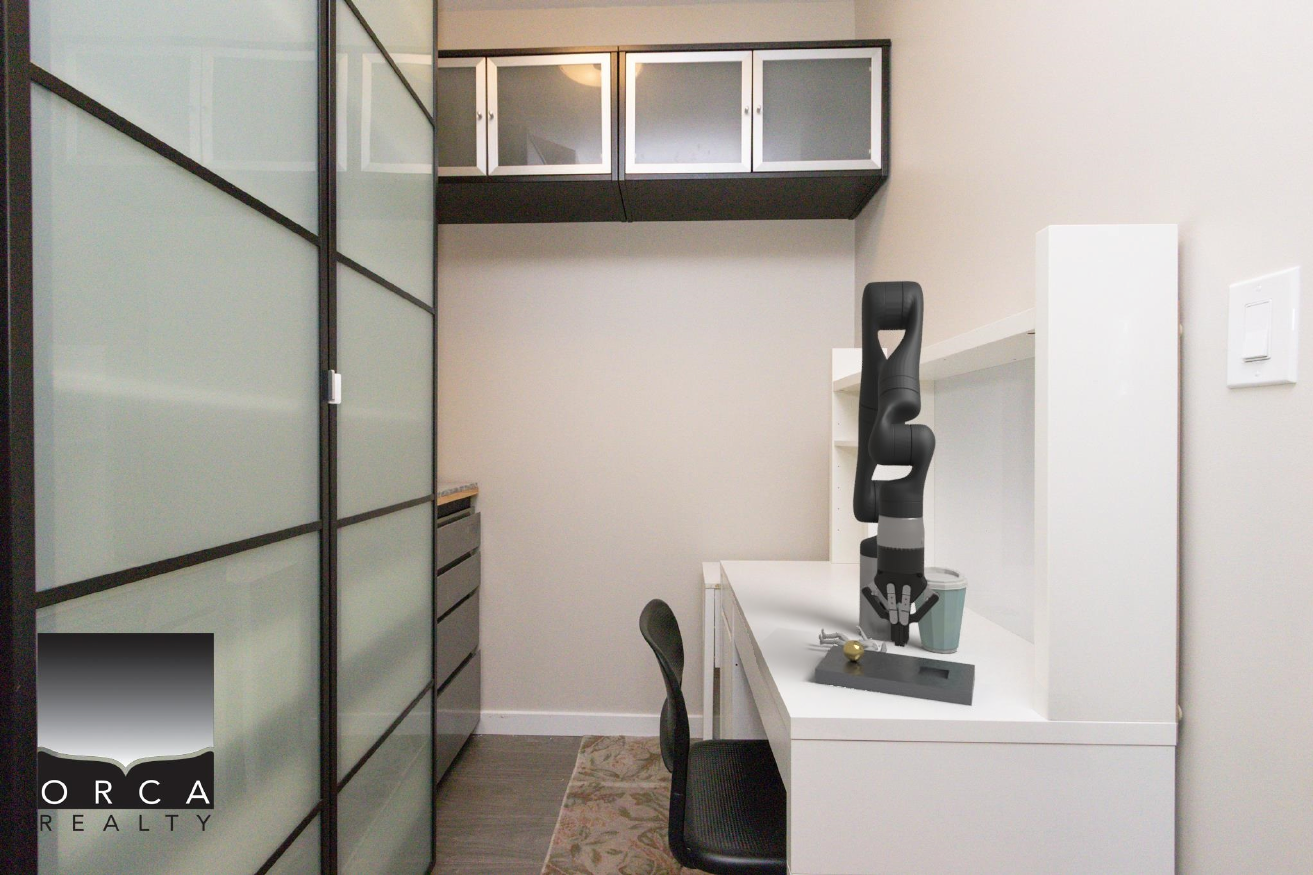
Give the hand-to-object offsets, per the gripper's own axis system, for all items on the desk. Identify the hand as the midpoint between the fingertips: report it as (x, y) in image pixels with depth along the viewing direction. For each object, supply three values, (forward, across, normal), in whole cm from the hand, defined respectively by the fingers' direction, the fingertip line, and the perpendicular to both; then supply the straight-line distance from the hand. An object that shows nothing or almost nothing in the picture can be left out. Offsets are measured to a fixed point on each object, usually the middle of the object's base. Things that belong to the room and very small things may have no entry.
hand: (899, 644), depth 119 cm
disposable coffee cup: (+6, -4, -22) cm, 24 cm away
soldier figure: (+5, +16, -12) cm, 21 cm away
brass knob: (+2, +8, 0) cm, 8 cm away
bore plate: (+6, +1, 0) cm, 6 cm away
